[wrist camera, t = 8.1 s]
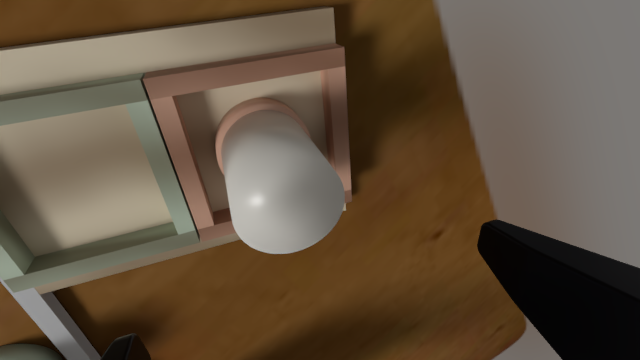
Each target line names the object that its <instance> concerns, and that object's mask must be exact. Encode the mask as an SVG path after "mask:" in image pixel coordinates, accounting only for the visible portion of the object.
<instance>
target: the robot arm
mask: <svg viewBox="0 0 640 360" xmlns="http://www.w3.org/2000/svg"><path fill="white" fill-rule="evenodd" d="M477 247H478V251H479V253H480V255H481V256H482V257H483V259H484V260H485V262H486V263H487V265H488V266H489V268H490V269H491V270H492V272H493V273H494V275H495V276H496V278H497V279H498V280H499V282H500V283H501V285H502V286H503V288H504V289H505V291H506V292H507V293H508V295H509V296H510V297H511V299H512V300H513V301H514V303H515V304H516V305H517V306H518V308H519V309H520V310H521V311H522V312H523V313H524V315H525V316H526V317H527V318H528V319H529V321H530V322H531V323H532V324H533V325H534V327H536V329H537V330H538V331H539V332H540V334H541V335H542V336H543V337H544V338H545V340H546V341H547V342H548V343H549V344H550V346H551V347H552V348H553V349H554V350H555V351H556V353H557V354H558V355H559V356H560V357H561V359H562V360H640V268H637V267H635V266H632V265H629V264H626V263H623V262H620V261H617V260H614V259H611V258H608V257H605V256H602V255H600V254H597V253H593V252H590V251H588V250H585V249H582V248H579V247H576V246H573V245H570V244H567V243H565V242H562V241H559V240H556V239H553V238H550V237H547V236H544V235H541V234H538V233H536V232H532V231H530V230H527V229H524V228H521V227H518V226H515V225H512V224H509V223H506V222H503V221H501V220H492V221H489V222H486V223H484V224H483V225H482V226H481V230H480V235H479V239H478V244H477ZM100 360H151V357H150V354H149V352H148V351H147V349H146V348H145V346H144V344H143V343H142V341H141V339H140V338H139V336H138V335H137V334H135V333H132V334H129V335H125V336H122V337H119V338H117V339H115V340H114V341H113V342H112V343H111V344H110V346H109V347H108V349H107V350H106V352H105V353H104V355H103V356H102V357H101V359H100Z"/></svg>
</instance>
